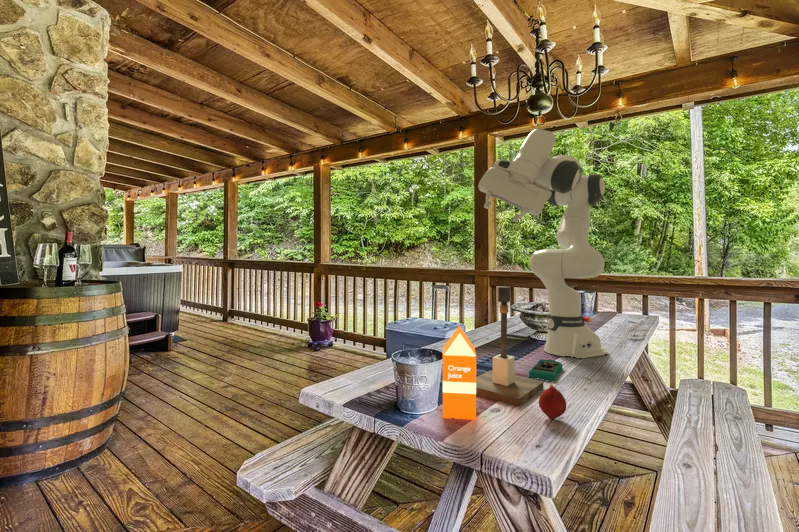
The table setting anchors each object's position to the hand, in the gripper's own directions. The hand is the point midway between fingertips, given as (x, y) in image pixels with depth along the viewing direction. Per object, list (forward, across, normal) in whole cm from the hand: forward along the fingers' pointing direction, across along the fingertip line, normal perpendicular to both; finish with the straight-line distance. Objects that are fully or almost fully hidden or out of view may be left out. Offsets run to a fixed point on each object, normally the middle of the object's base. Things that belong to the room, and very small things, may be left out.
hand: (500, 214), depth 113 cm
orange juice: (+54, -15, +13) cm, 57 cm away
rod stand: (+44, -24, -2) cm, 50 cm away
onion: (+44, -34, +14) cm, 57 cm away
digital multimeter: (+34, -35, -19) cm, 52 cm away
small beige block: (+43, -23, -2) cm, 48 cm away
